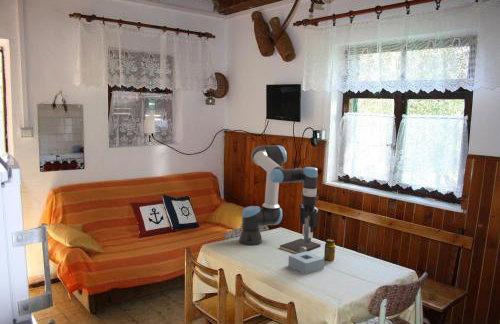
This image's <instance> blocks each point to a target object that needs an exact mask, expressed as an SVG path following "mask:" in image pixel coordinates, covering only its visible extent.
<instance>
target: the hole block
mask: <svg viewBox="0 0 500 324" xmlns="http://www.w3.org/2000/svg"><path fill="white" fill-rule="evenodd" d="M287 264H288V267H290V268H292V269H294V270H296V271H299V272H301V273H302V274H305V275H307V274H310V273H311V274H312V273H315V272H317V271H318V272H319V271H321V270H324V268H325V262H324V257H321V256H319V255H316V254H314V253H312V252H310V251H308V252H307V251H306V252H302V253H298V254H296V253H293V254H290V255H288V263H287Z"/></svg>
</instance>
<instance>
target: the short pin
mask: <svg viewBox="0 0 500 324" xmlns="http://www.w3.org/2000/svg"><path fill="white" fill-rule="evenodd" d="M306 251H307V247H303V246H302V247H300V253H302V252H306Z"/></svg>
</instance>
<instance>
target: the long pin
mask: <svg viewBox="0 0 500 324" xmlns="http://www.w3.org/2000/svg"><path fill="white" fill-rule="evenodd" d="M309 226H310V220H309V215H308V216H307V217H305V225H304V236H303V239H304V242H305V243H311V241H312V238H308V233H309Z"/></svg>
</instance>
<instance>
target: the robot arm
mask: <svg viewBox="0 0 500 324" xmlns="http://www.w3.org/2000/svg"><path fill="white" fill-rule="evenodd" d="M250 157H251V160H252V163H254V165H256V166H258V167H259V166H260V167H261V169H263V170H264V171H265V172H266V178H265V179H266V181H265V193H264V195H265V196H264V203H263V204H262V205H261V207H260V206H258V205H255V206H254V205H250V206H246V207H245V208H243V210H242V215H241V216H242V220H241V221H242V225H241V233H240V235H239V239H238V240H239V241H238V243H241V244H242V245H245V246H246V245H247V246H256V245H260V244H262V243H263V242H262V241H263V238H262V235H261V230H260V229H261V227H262V226H275V225H279V224H280V223H281V222H282V219H283V209H282V208H281V207H280V204H279V202H278V201H279V189H280V188H279V187H280V184H283V183H302V184H303V185H302V187H303V188H302V204H299V223H301V225H302V228H301V229H302V237H304V225H305V217H307V216H309V220H310V226H309V233H308V238H311V239H312V238H314V237H313V236H314V232H315V227H317V226H318V219H319V218H318V216H319V211H320V208H318V207H316V203H317V194H318V193H317V192H318V191H317V190H318V176H319V175H318V172H319V171H318V168H316V167H314V166H305V167H304V168H302V167H296V168H283V164H285V163H287V160H288V159H287V158H288V156H287V151H286V149H285V147H284V146H282V145H276V144H275V145H273V144H271V145H270V144H269V145H258V146H256V147H255V148H254V149H253V150H252V151H251V155H250Z"/></svg>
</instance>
